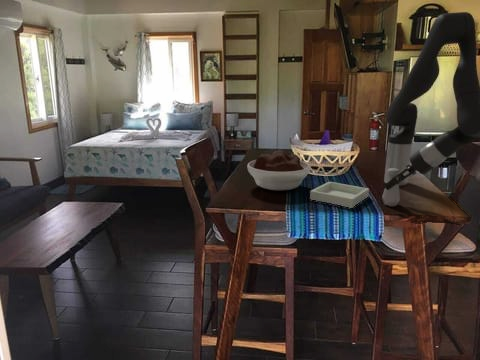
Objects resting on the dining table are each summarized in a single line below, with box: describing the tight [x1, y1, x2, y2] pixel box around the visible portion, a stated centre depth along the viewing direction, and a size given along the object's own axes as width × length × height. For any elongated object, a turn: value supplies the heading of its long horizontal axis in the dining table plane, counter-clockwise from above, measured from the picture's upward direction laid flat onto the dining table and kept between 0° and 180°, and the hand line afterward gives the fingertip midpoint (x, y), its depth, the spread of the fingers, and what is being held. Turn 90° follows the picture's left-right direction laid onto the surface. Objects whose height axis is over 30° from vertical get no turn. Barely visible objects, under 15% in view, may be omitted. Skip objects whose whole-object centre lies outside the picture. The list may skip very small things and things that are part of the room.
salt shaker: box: [381, 168, 401, 207], centre depth 142 cm, size 6×6×13 cm
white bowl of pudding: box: [246, 149, 311, 191], centre depth 162 cm, size 25×25×15 cm
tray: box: [309, 181, 370, 209], centre depth 149 cm, size 16×16×4 cm
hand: (389, 185), depth 142 cm, fingers open, 8 cm apart
